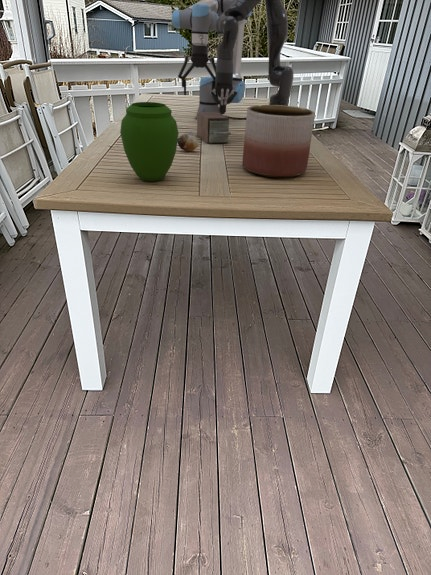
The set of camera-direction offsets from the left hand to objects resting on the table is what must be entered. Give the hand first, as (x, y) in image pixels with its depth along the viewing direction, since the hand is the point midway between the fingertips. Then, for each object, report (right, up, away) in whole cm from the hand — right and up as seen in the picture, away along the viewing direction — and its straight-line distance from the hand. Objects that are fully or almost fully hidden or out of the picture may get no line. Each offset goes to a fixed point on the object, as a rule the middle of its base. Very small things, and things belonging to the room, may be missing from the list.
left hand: (198, 95), depth 200 cm
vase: (-15, -55, -53) cm, 78 cm away
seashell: (-4, -34, -19) cm, 39 cm away
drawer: (+8, -22, 0) cm, 23 cm away
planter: (+31, -48, -37) cm, 68 cm away
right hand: (+11, -15, -14) cm, 23 cm away
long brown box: (+6, -20, +4) cm, 21 cm away
